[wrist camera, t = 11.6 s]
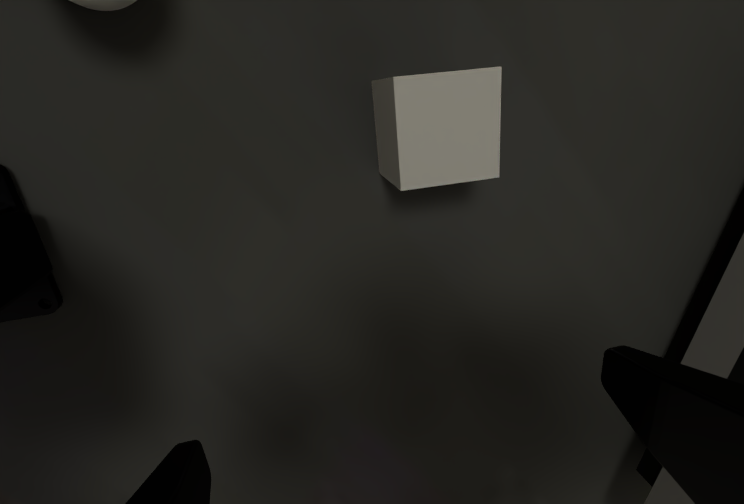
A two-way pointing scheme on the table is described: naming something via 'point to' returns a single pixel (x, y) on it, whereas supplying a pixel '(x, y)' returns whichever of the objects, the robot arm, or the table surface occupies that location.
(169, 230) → the table surface
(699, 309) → the office tray
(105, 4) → the white capsule
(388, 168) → the grey cube
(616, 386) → the robot arm
